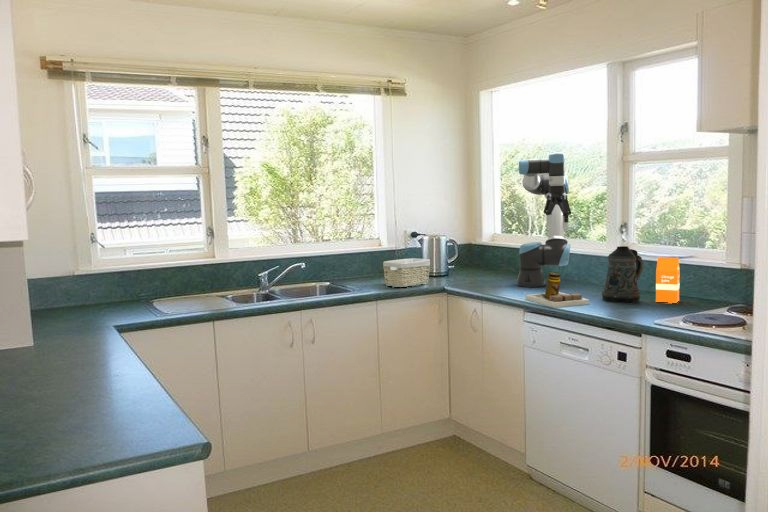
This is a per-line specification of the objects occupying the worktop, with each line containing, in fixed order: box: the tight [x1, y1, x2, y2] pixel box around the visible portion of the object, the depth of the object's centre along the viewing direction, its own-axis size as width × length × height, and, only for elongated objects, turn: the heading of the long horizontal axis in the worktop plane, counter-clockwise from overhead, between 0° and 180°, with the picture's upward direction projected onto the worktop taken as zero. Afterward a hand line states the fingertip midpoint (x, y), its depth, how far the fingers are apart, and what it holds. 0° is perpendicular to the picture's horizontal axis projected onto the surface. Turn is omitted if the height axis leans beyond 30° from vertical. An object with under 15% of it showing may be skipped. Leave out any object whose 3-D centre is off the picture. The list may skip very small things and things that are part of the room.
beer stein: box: [601, 245, 644, 304], centre depth 288 cm, size 16×19×25 cm
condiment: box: [539, 271, 561, 300], centre depth 293 cm, size 7×8×12 cm
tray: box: [525, 291, 590, 309], centre depth 289 cm, size 24×18×3 cm
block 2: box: [559, 293, 572, 301], centre depth 282 cm, size 4×4×4 cm
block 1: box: [550, 295, 563, 302], centre depth 281 cm, size 4×4×4 cm
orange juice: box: [655, 257, 681, 304], centre depth 282 cm, size 8×9×20 cm
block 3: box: [569, 293, 583, 301], centre depth 284 cm, size 4×4×4 cm
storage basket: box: [382, 257, 431, 287], centre depth 357 cm, size 24×16×15 cm
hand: (557, 228), depth 308 cm, fingers open, 13 cm apart
